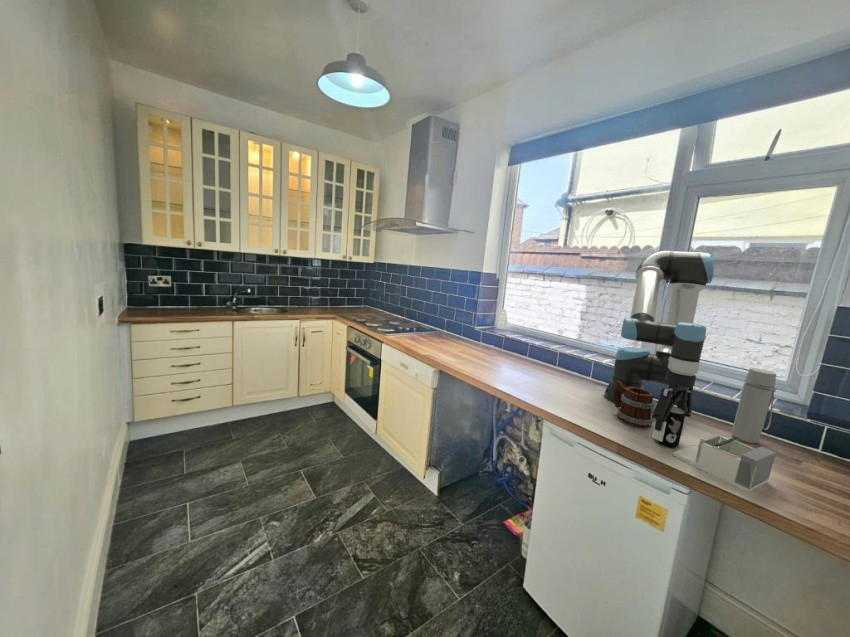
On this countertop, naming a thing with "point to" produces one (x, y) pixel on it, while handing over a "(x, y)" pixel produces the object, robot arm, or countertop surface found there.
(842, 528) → the countertop surface
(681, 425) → the beverage can
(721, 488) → the countertop surface
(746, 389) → the water bottle
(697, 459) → the grey angled piece
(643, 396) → the mug
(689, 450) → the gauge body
